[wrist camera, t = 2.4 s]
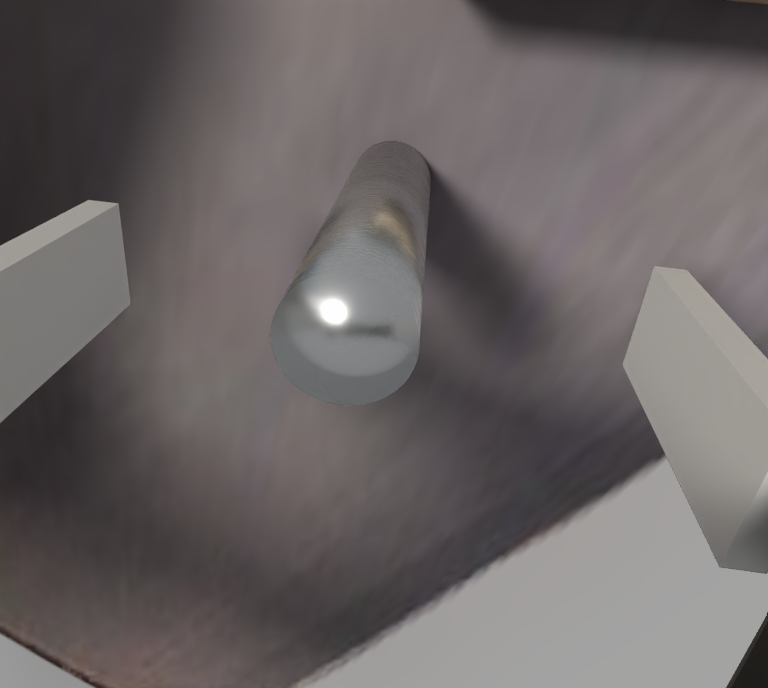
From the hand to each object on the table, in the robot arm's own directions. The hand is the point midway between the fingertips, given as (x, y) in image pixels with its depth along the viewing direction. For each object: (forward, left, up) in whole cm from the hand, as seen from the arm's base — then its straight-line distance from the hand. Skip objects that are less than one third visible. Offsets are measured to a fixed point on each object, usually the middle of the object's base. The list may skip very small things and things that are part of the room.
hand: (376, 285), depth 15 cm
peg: (0, 0, -10) cm, 10 cm away
